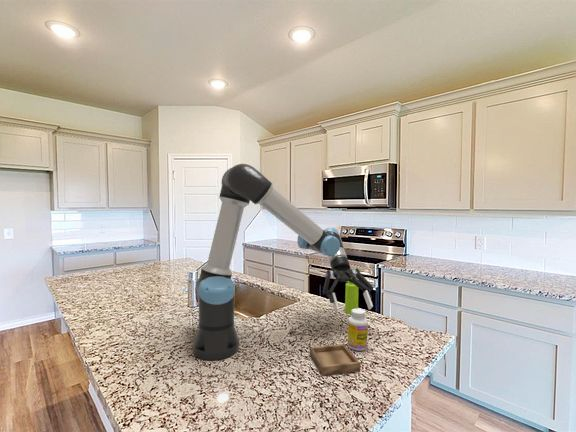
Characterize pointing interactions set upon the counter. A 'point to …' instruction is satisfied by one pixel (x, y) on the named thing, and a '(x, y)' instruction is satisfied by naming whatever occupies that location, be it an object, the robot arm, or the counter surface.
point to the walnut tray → (334, 359)
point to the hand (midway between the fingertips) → (354, 309)
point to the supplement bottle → (357, 330)
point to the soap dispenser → (351, 296)
